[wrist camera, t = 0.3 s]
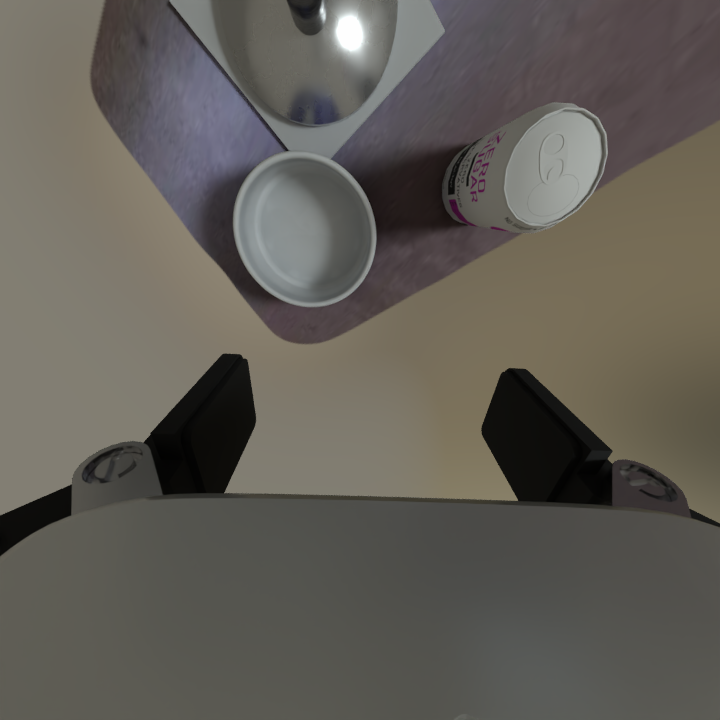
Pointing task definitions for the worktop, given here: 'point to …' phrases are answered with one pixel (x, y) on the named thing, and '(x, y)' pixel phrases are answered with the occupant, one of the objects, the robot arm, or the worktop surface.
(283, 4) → the lid
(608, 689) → the robot arm
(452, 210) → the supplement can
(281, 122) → the mat
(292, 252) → the dog bowl
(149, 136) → the worktop surface
